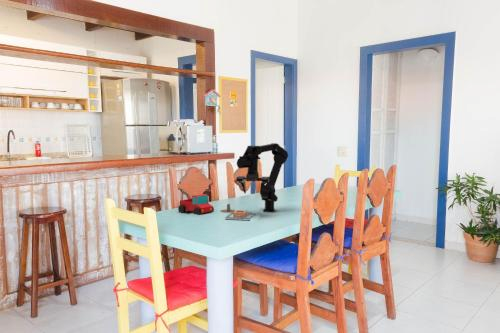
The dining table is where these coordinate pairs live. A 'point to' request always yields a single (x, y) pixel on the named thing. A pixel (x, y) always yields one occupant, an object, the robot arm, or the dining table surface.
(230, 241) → the dining table surface
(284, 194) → the dining table surface
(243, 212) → the ring
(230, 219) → the tray
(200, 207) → the toy truck
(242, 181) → the robot arm
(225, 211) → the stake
